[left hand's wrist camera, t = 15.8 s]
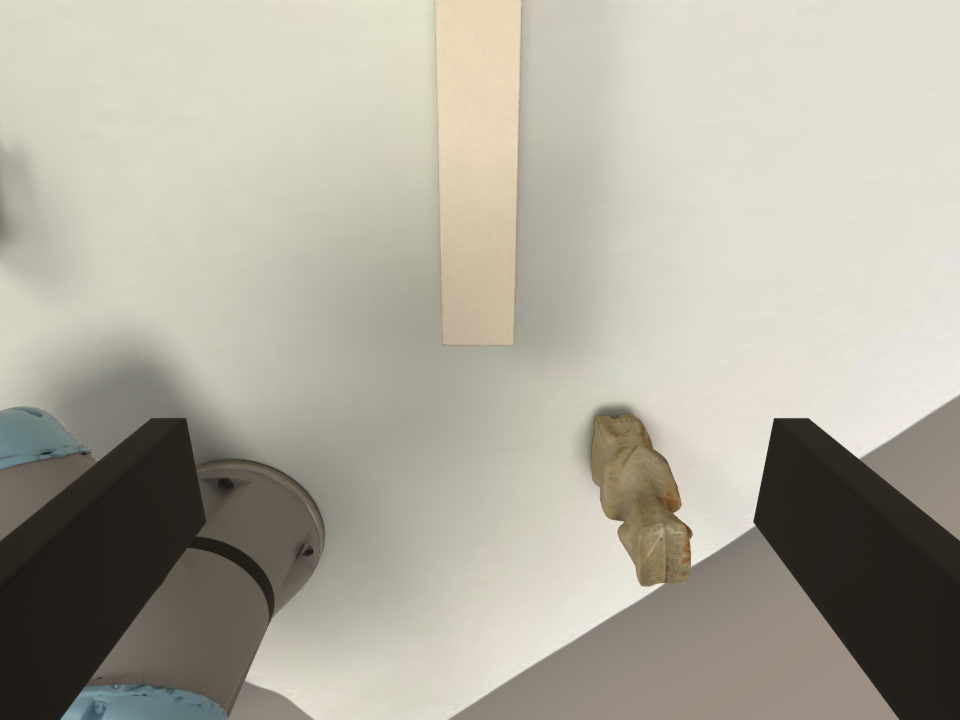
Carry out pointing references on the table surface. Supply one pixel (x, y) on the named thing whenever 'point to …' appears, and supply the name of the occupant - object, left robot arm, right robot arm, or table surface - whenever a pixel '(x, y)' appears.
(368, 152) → the table surface
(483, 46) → the bar
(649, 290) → the table surface
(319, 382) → the table surface
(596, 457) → the sculpture
